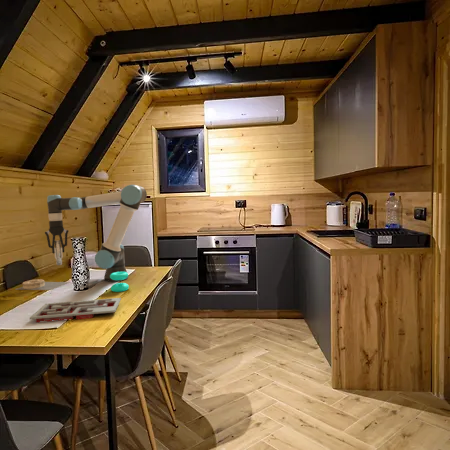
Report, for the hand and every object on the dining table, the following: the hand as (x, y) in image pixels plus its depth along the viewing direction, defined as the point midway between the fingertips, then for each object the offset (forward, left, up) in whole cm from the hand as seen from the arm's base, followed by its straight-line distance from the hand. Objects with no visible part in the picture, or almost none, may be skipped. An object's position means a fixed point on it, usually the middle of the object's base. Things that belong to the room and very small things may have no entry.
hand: (58, 258), depth 209 cm
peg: (0, 0, -4) cm, 4 cm away
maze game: (-44, +47, -18) cm, 67 cm away
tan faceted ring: (+12, +8, -16) cm, 22 cm away
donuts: (-44, +8, -18) cm, 48 cm away
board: (+7, +6, -17) cm, 20 cm away
